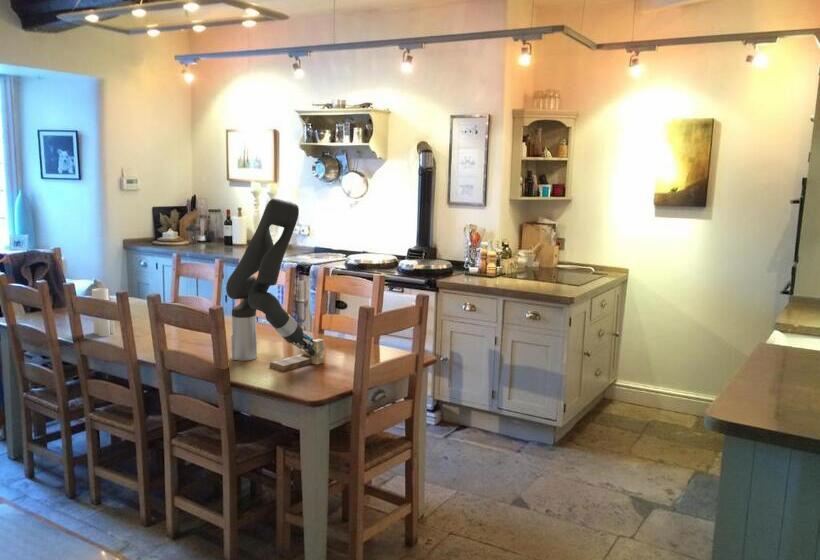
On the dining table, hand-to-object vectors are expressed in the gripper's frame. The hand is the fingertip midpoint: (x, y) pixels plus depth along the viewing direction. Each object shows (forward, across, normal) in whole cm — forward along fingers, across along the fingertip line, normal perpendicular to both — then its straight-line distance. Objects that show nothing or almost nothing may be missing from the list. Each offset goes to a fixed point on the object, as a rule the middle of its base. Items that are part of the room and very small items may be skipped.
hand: (312, 353), depth 253 cm
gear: (+14, +18, -8) cm, 24 cm away
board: (+1, +6, +5) cm, 8 cm away
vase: (-17, +106, +23) cm, 110 cm away
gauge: (+5, +3, +1) cm, 6 cm away
